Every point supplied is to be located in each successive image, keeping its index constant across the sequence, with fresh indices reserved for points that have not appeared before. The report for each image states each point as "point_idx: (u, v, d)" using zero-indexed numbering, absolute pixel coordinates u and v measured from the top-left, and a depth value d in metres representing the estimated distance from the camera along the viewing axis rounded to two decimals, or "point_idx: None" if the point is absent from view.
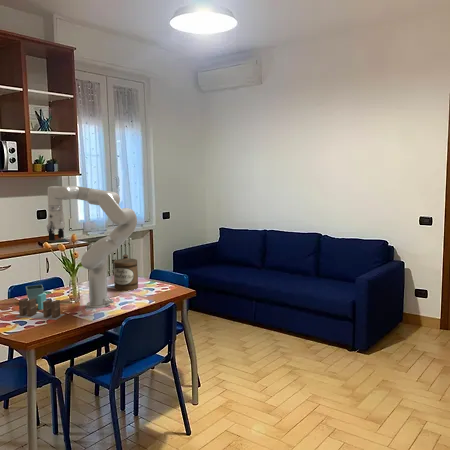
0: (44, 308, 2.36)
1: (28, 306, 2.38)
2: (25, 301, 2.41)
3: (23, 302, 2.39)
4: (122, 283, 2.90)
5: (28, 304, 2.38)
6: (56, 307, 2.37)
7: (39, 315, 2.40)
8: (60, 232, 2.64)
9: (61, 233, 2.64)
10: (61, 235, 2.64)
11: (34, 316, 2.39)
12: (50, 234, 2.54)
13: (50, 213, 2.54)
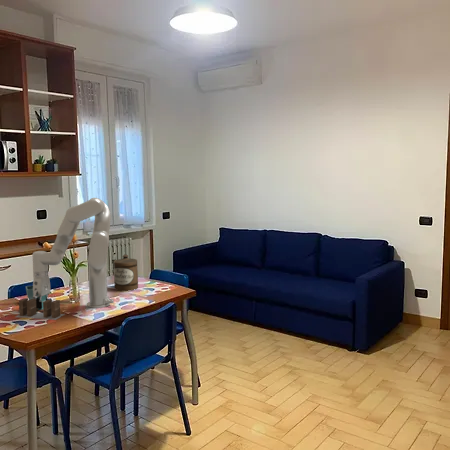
0: (44, 308, 2.36)
1: (28, 306, 2.38)
2: (25, 301, 2.41)
3: (23, 302, 2.39)
4: (122, 283, 2.90)
5: (28, 304, 2.38)
6: (56, 307, 2.37)
7: (39, 315, 2.40)
8: None
9: None
10: None
11: (34, 316, 2.39)
12: (37, 302, 2.49)
13: (35, 280, 2.47)
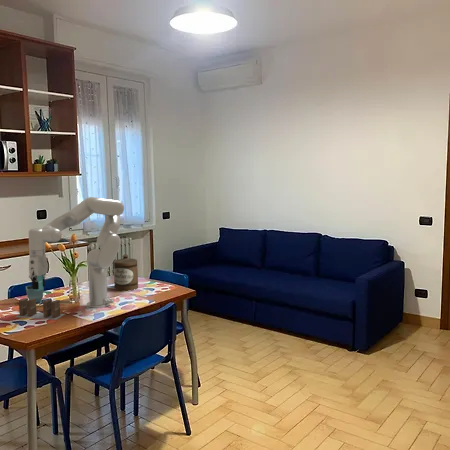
0: (44, 308, 2.36)
1: (28, 306, 2.38)
2: (25, 301, 2.41)
3: (23, 302, 2.39)
4: (122, 283, 2.90)
5: (28, 304, 2.38)
6: (56, 307, 2.37)
7: (39, 315, 2.40)
8: None
9: None
10: None
11: (34, 316, 2.39)
12: (33, 283, 2.34)
13: (31, 259, 2.32)
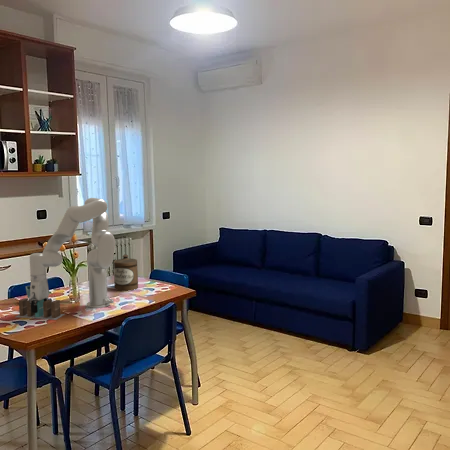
0: (44, 308, 2.36)
1: (28, 306, 2.38)
2: (25, 301, 2.41)
3: (23, 302, 2.39)
4: (122, 283, 2.90)
5: (28, 304, 2.38)
6: (56, 307, 2.37)
7: None
8: None
9: None
10: None
11: (34, 316, 2.39)
12: (32, 306, 2.34)
13: (32, 283, 2.34)
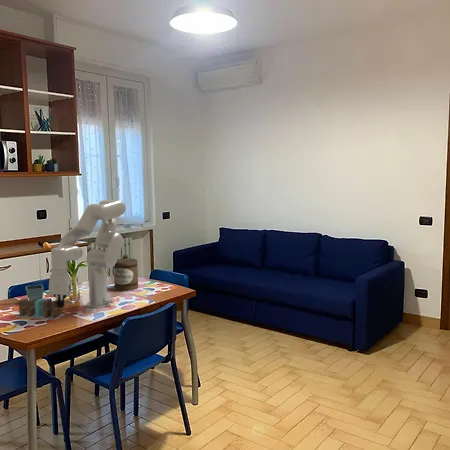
0: (44, 308, 2.36)
1: (28, 306, 2.38)
2: (25, 301, 2.41)
3: (23, 302, 2.39)
4: (122, 283, 2.90)
5: (28, 304, 2.38)
6: (56, 307, 2.37)
7: None
8: None
9: None
10: None
11: (34, 316, 2.39)
12: None
13: None
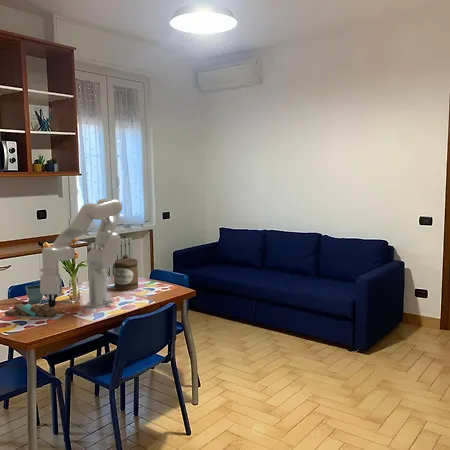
0: (35, 311, 2.38)
1: (18, 309, 2.39)
2: (9, 310, 2.43)
3: (7, 311, 2.41)
4: (122, 283, 2.90)
5: (16, 308, 2.39)
6: (45, 308, 2.38)
7: (39, 315, 2.40)
8: None
9: None
10: None
11: None
12: None
13: None
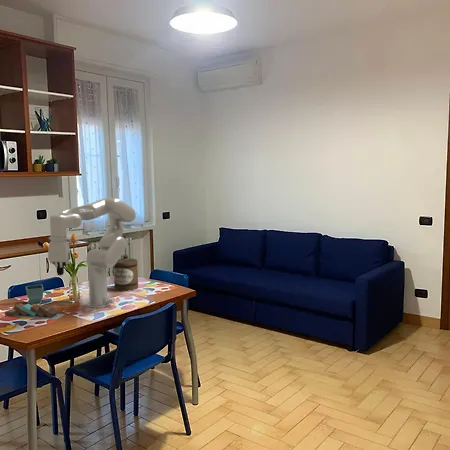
0: (35, 311, 2.38)
1: (18, 309, 2.39)
2: (9, 310, 2.43)
3: (7, 311, 2.41)
4: (122, 283, 2.90)
5: (16, 308, 2.39)
6: (45, 308, 2.38)
7: (39, 315, 2.40)
8: None
9: None
10: None
11: None
12: None
13: None
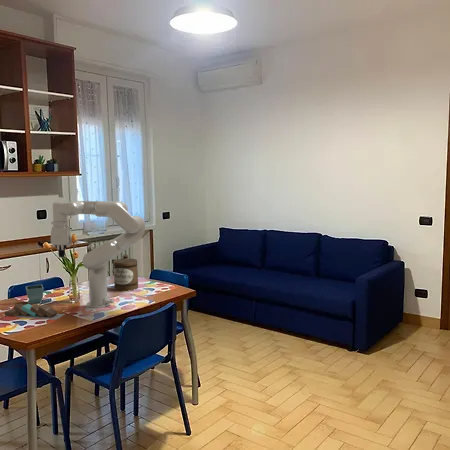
0: (35, 311, 2.38)
1: (18, 309, 2.39)
2: (9, 310, 2.43)
3: (7, 311, 2.41)
4: (122, 283, 2.90)
5: (16, 308, 2.39)
6: (45, 308, 2.38)
7: (39, 315, 2.40)
8: None
9: None
10: None
11: None
12: None
13: None
